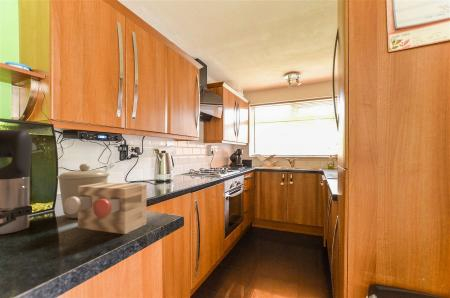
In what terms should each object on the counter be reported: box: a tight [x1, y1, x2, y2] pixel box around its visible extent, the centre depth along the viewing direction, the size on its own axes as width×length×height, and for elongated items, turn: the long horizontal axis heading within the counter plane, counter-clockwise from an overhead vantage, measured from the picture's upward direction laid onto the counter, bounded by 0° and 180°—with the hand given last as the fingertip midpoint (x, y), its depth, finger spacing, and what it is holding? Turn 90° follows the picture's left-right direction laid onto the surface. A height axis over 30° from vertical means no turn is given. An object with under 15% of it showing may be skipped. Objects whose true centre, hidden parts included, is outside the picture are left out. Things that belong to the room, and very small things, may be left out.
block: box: [77, 182, 147, 235], centre depth 74 cm, size 20×10×14 cm, turn 72°
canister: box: [56, 163, 111, 219], centre depth 88 cm, size 18×18×21 cm
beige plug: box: [64, 196, 92, 214], centre depth 70 cm, size 5×9×5 cm, turn 162°
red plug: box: [93, 198, 120, 218], centre depth 67 cm, size 5×9×5 cm, turn 162°
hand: (30, 209), depth 56 cm, fingers closed
